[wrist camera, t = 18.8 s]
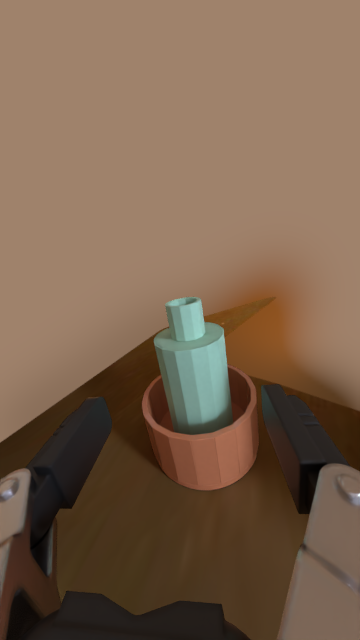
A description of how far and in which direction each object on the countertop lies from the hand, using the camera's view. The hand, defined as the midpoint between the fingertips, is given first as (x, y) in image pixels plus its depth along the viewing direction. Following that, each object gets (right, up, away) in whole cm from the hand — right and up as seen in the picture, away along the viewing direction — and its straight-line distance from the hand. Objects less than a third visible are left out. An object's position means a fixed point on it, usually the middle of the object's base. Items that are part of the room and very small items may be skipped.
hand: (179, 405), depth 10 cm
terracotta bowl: (+3, -8, +11) cm, 14 cm away
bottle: (+3, -7, +11) cm, 13 cm away
